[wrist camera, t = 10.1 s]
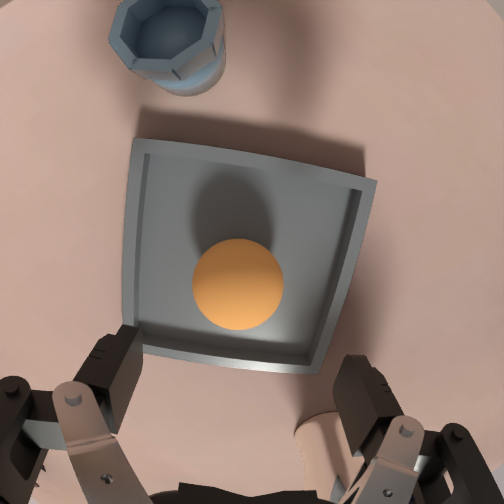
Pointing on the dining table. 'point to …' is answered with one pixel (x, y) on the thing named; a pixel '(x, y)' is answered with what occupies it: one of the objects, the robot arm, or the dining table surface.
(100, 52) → the dining table surface
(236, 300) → the ball
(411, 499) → the bomb
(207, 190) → the tray
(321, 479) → the beer glass
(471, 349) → the dining table surface
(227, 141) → the dining table surface
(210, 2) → the cup
